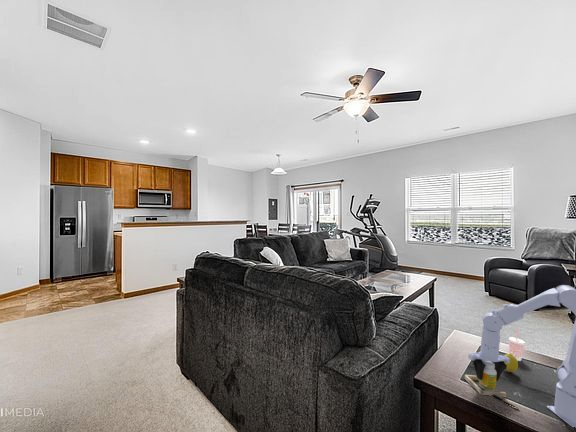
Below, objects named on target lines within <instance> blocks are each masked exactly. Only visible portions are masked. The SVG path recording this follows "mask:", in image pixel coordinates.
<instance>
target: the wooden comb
mask: <svg viewBox="0 0 576 432" xmlns="http://www.w3.org/2000/svg"><path fill="white" fill-rule="evenodd" d="M480 388H481V387H480ZM481 389H482V390H485V389H483V388H481ZM485 391H487V390H485ZM492 396H493V397H492ZM492 396H491V397H492V398H494V399H496V400H497V399H498V400H497V401H499V400H500V401H499V402H501V401H502V402H501V403H503V402H504V403H503V404H505V403H506V404H508V405H511V406H513V407H516V408H518V407H517V406H516V405H514V404H512V403H511V402H509V401H507V400H506V399H504V398H502V397H497V396H496V395H492ZM506 404H505V405H506ZM508 405H507V406H508Z"/></svg>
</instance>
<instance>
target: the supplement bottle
mask: <svg viewBox="0 0 576 432" xmlns="http://www.w3.org/2000/svg"><path fill="white" fill-rule="evenodd" d="M482 362H483V364H485V365H486V366H485V368H484V371H483V377H482V380H480V379H479V380H478V386H479V387H480V388H482V389H484V390H486V391H496V390H497V381H496V378H497V372H496V370H495V364H494V363H492V361H483V360H482Z"/></svg>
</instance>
